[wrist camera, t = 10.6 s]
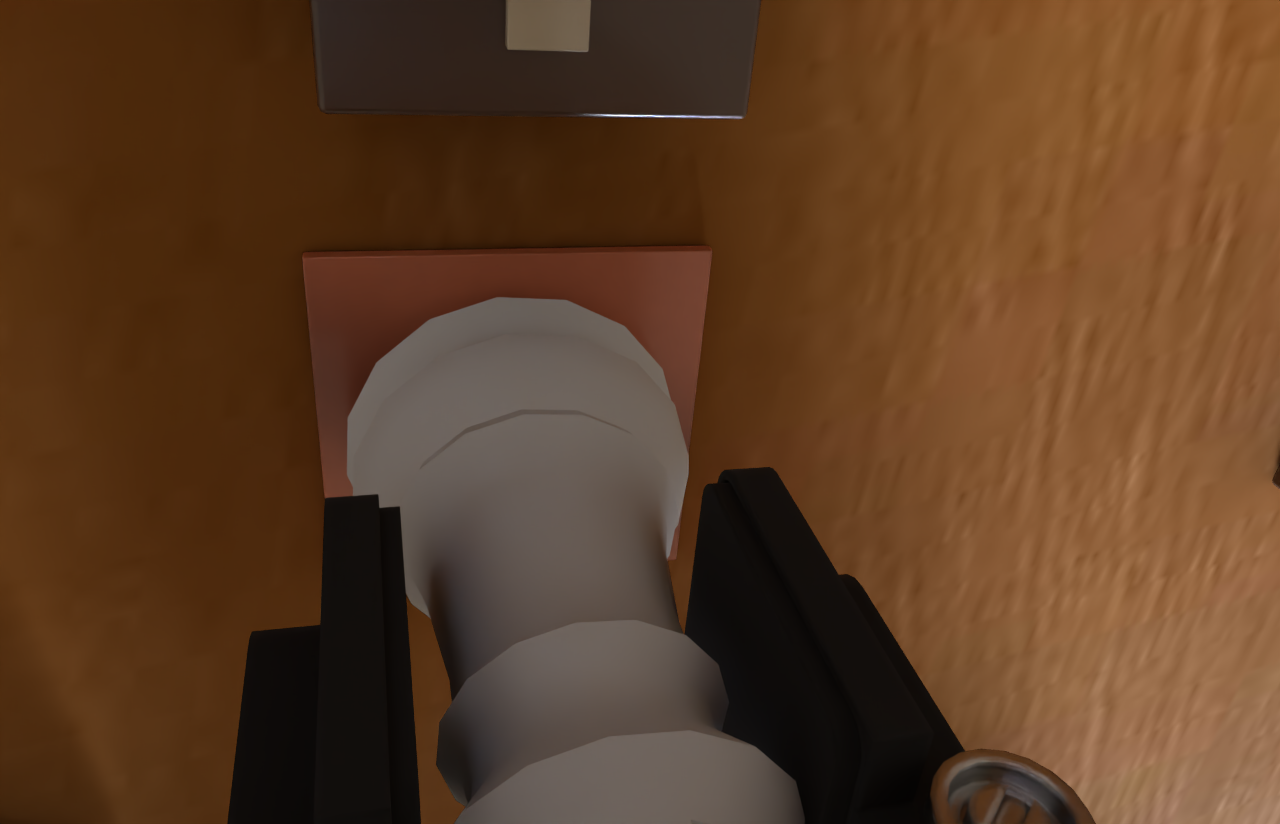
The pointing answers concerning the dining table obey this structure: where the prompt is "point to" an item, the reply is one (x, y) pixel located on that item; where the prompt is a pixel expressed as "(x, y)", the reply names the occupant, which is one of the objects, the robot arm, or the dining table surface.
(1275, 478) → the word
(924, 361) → the dining table surface
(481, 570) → the rook chess piece
